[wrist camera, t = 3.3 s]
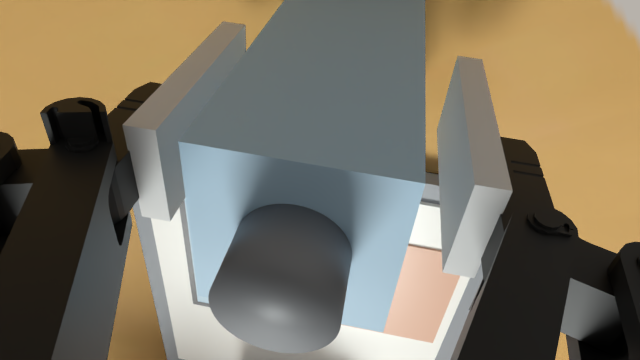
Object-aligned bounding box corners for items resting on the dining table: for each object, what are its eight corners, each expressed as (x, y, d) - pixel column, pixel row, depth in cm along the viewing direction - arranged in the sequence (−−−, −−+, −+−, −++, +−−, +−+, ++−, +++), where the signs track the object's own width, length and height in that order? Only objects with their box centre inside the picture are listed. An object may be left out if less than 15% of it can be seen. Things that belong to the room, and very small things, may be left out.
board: (124, 121, 22) (74, 173, 18) (524, 188, 20) (542, 257, 17) (179, 386, 37) (156, 439, 33) (411, 436, 35) (409, 497, 32)
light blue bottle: (299, -20, 16) (135, 198, 7) (425, -3, 16) (425, 252, 7) (293, 92, 19) (169, 356, 10) (401, 109, 19) (377, 400, 10)
